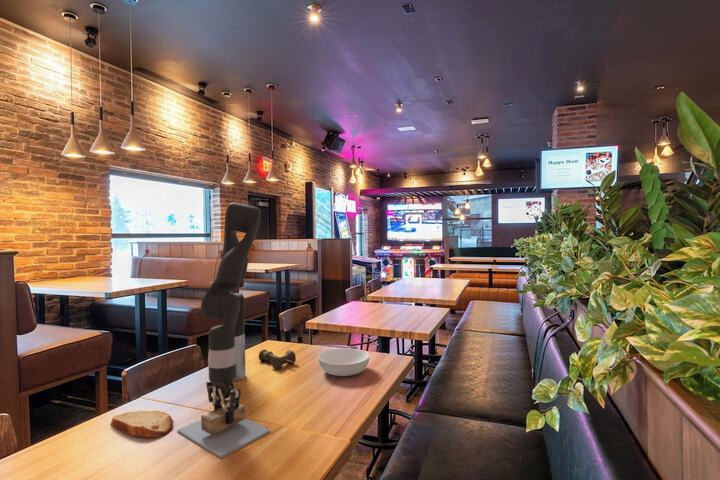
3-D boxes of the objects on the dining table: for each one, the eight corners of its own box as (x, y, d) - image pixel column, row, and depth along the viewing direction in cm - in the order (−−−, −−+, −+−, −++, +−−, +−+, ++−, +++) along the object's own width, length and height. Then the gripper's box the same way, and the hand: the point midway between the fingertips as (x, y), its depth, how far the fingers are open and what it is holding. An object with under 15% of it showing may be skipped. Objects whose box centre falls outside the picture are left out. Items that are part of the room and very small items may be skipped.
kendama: (271, 358, 177) (302, 365, 165) (254, 365, 169) (285, 373, 157) (270, 345, 177) (301, 352, 165) (253, 351, 169) (285, 359, 157)
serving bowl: (379, 368, 161) (379, 352, 161) (351, 386, 143) (350, 368, 143) (338, 359, 172) (338, 344, 172) (307, 375, 154) (307, 358, 154)
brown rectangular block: (235, 414, 118) (234, 400, 118) (245, 418, 115) (244, 405, 115) (201, 429, 109) (201, 415, 109) (211, 435, 106) (211, 420, 106)
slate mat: (177, 431, 113) (177, 429, 113) (225, 410, 125) (225, 408, 125) (221, 458, 99) (221, 456, 99) (270, 431, 112) (270, 429, 112)
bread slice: (112, 420, 121) (112, 408, 121) (176, 409, 128) (175, 398, 127) (97, 451, 104) (97, 437, 104) (171, 436, 111) (171, 423, 111)
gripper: (248, 363, 110) (250, 422, 111) (219, 354, 119) (221, 408, 120) (225, 371, 104) (227, 433, 105) (196, 361, 113) (198, 418, 114)
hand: (223, 420), depth 112 cm, fingers closed on brown rectangular block, 5 cm apart
